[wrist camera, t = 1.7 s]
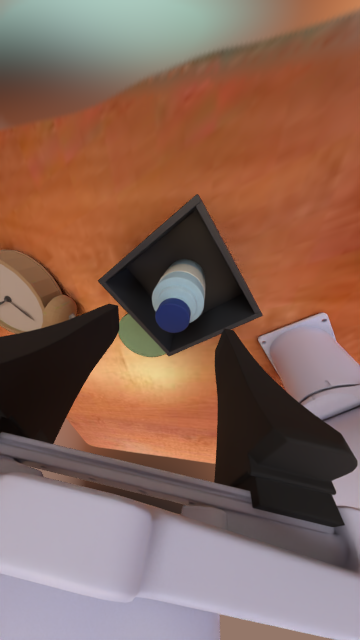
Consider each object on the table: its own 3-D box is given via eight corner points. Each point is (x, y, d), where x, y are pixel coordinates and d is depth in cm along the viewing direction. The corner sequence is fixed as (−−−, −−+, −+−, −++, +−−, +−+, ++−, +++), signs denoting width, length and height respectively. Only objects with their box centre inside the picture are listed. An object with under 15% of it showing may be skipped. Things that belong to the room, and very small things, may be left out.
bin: (250, 291, 20) (263, 315, 15) (176, 329, 24) (168, 356, 20) (200, 198, 16) (197, 193, 11) (122, 265, 20) (97, 281, 16)
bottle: (213, 285, 19) (216, 328, 12) (180, 304, 21) (166, 351, 14) (190, 249, 18) (179, 276, 11) (157, 273, 20) (128, 309, 12)
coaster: (185, 343, 25) (185, 345, 25) (144, 361, 29) (144, 363, 29) (148, 299, 22) (147, 301, 22) (107, 326, 26) (106, 328, 25)
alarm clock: (-37, 226, 17) (75, 332, 19) (17, 229, 21) (103, 315, 24) (-45, 293, 22) (43, 370, 25) (-1, 284, 27) (71, 351, 29)
